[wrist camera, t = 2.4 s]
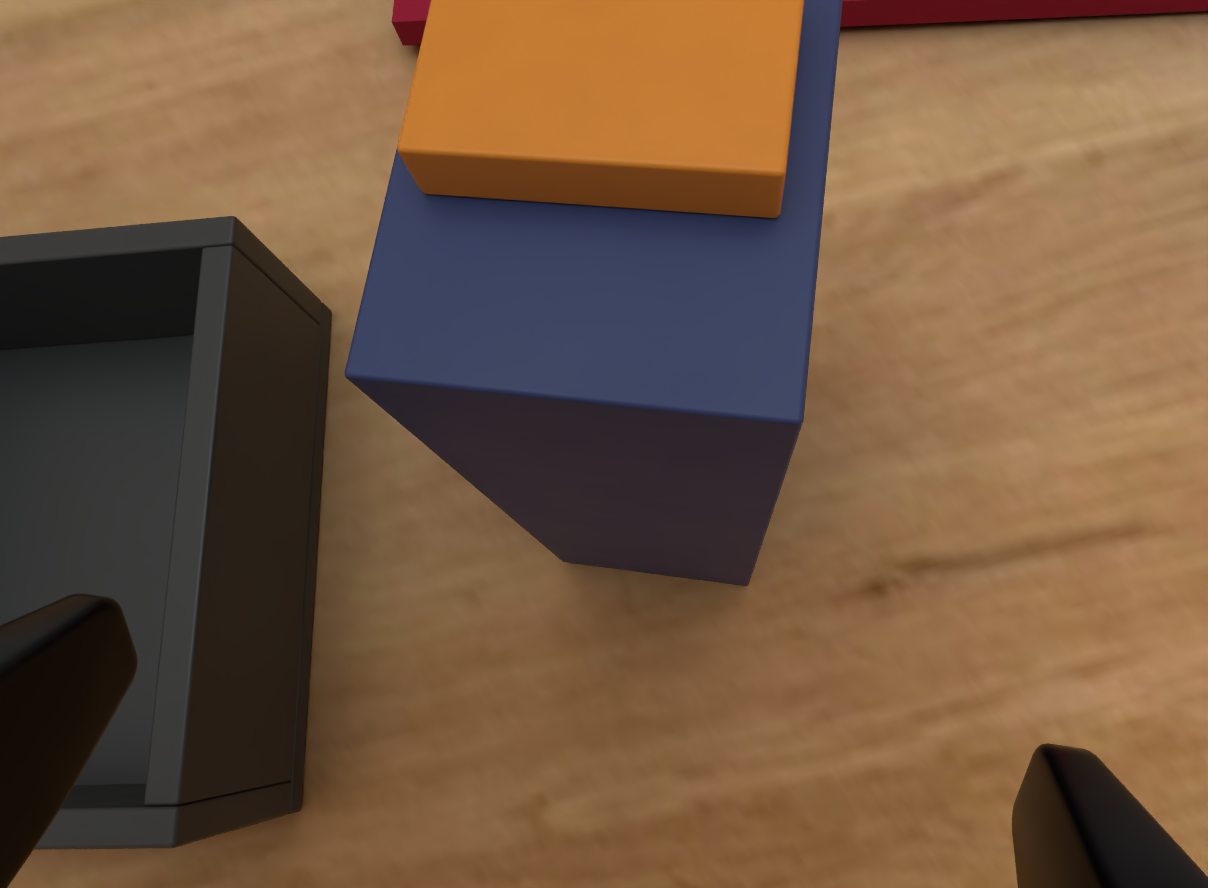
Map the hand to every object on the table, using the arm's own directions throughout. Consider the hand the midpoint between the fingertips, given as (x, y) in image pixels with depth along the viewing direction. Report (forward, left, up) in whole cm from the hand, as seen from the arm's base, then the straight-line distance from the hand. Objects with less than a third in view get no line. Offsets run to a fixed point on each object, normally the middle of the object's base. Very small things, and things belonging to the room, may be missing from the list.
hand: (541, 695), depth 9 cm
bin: (+4, +14, -12) cm, 19 cm away
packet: (+6, -1, -12) cm, 13 cm away
